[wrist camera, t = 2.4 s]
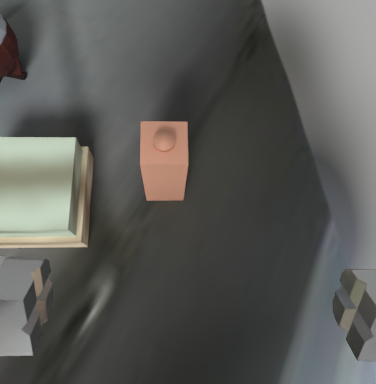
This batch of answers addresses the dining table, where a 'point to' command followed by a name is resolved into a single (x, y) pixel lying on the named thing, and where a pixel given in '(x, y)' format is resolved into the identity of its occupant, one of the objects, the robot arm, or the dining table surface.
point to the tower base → (44, 192)
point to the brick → (164, 159)
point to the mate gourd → (9, 53)
